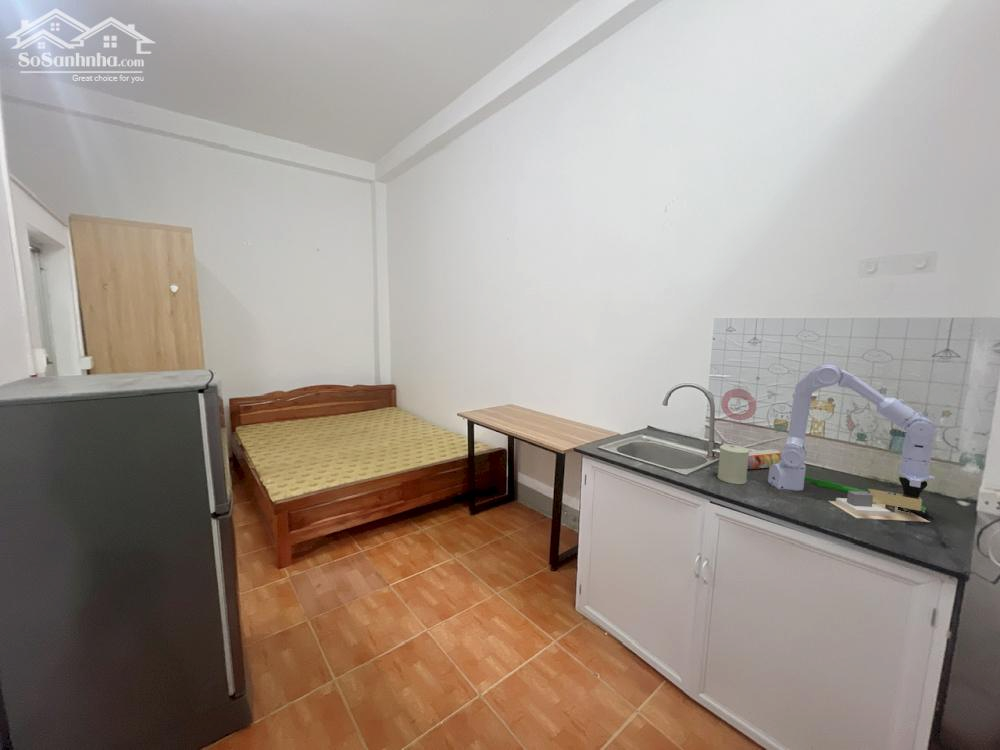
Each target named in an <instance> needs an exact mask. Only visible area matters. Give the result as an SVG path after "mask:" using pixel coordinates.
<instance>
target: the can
mask: <svg viewBox="0 0 1000 750" xmlns="http://www.w3.org/2000/svg"><path fill="white" fill-rule="evenodd" d="M749 452H750V450H749V449H748V448H746V447H743V446H740V445H733V444H722V445H720V446H719V459H718V471H717V478H718V479H719V480H720V481H722V482H726V483H729V484H734V485H736V484H737V485H744V484H746V483H747V482H748V480H747V476H748V475H747V474H748V469H747V466H748V456H749Z"/></svg>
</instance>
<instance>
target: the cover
mask: <svg viewBox="0 0 1000 750" xmlns="http://www.w3.org/2000/svg"><path fill="white" fill-rule="evenodd" d="M835 501H836V503H837V504H839V505H841V506H842V507H844V508H846V509H847V510H849V511H851V512H853V513H854V514H856V515H868V516H888V517H891V511H889V510H887V509H885V508H883V507H881V506H879V505H878V504H876V503H874V502H872V501H873V495H872V494H870V493H868V492H860V491H848V492H847V497H846V498H845V497H843V498H842V497H835Z"/></svg>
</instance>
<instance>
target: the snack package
mask: <svg viewBox="0 0 1000 750" xmlns="http://www.w3.org/2000/svg"><path fill="white" fill-rule="evenodd" d="M781 453H782V451H779V450H777V449H763V450H753V451H752V450H751V451H749V456H748V466H747V470H759V469H760V468H761V469H769V468H770V466H771V465H772V464H778V463H779V461H780V460H781V458H780V455H781Z"/></svg>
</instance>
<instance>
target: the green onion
mask: <svg viewBox="0 0 1000 750" xmlns="http://www.w3.org/2000/svg"><path fill="white" fill-rule="evenodd" d="M804 482H809V483H812V484H814V485H816V487H820V488H826V489H831V490H837V491H840V492H845V493H848V491H860V492H868V490H864V489H860V488H857V487H851V486H848V485H843V484H840V483H837V482H834V481H832V480H827V479H825V478H820V479H816V478H812V477H808V476H805V479H804ZM926 510H927V507H926V506H924V505H921V511H925V512H926Z"/></svg>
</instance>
